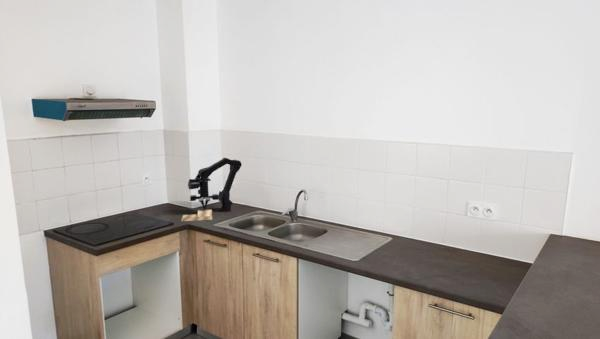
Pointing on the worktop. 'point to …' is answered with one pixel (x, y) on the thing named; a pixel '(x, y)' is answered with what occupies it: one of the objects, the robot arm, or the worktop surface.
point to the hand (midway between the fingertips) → (204, 209)
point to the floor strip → (197, 218)
